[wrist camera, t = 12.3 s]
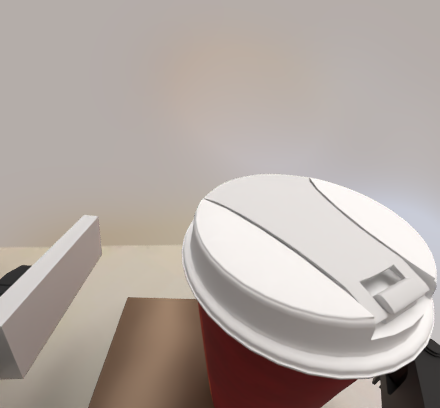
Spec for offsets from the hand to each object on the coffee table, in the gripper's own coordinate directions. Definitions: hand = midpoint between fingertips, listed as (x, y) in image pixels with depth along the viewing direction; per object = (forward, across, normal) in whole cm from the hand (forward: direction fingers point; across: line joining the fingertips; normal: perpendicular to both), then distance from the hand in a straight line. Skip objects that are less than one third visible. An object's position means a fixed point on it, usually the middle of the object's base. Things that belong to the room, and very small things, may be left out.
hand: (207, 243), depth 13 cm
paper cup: (-4, +4, -9) cm, 10 cm away
